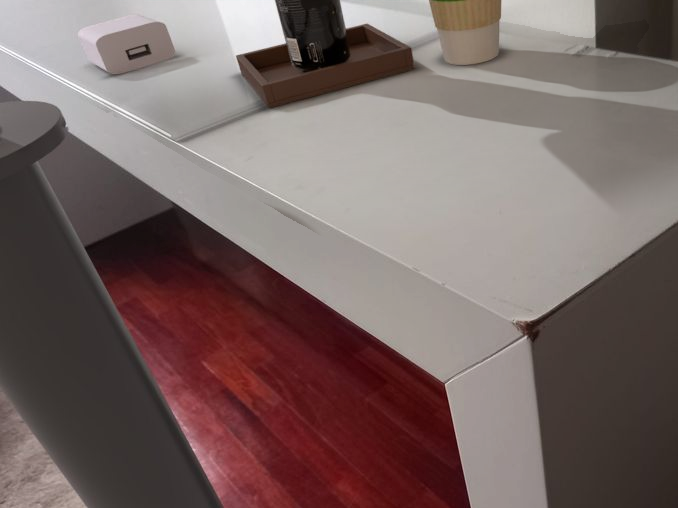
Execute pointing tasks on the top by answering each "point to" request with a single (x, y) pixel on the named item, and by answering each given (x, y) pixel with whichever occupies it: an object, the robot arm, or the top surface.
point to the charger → (126, 43)
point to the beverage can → (314, 34)
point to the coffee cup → (467, 29)
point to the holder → (292, 84)
